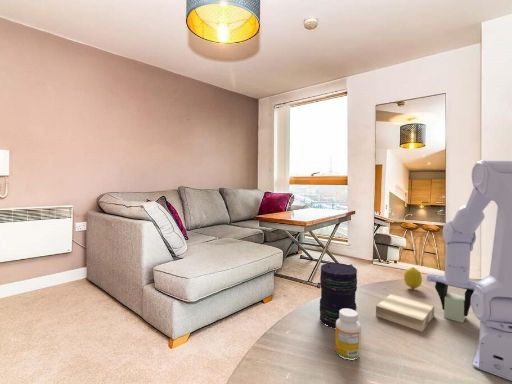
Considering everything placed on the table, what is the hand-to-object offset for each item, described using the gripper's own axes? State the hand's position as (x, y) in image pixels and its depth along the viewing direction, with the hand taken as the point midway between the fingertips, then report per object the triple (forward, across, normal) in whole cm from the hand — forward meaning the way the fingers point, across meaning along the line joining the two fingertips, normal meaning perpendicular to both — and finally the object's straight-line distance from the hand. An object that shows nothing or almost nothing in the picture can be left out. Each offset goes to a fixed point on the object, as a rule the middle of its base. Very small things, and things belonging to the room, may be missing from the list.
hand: (455, 311), depth 82 cm
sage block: (+2, 0, 0) cm, 2 cm away
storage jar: (+2, +23, +26) cm, 35 cm away
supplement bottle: (+2, +14, +38) cm, 41 cm away
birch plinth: (+2, +10, +10) cm, 14 cm away
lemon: (+2, +15, -14) cm, 21 cm away
